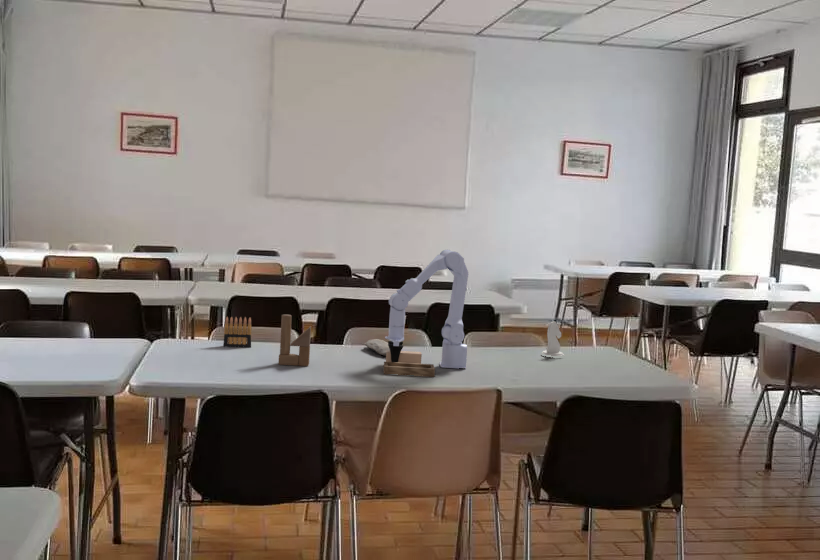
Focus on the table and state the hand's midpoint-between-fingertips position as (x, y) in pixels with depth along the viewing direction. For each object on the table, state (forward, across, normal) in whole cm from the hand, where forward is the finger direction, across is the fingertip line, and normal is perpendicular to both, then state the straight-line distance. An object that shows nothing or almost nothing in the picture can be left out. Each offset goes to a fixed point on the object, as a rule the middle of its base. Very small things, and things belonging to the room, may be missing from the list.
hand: (394, 361), depth 301 cm
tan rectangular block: (+2, 0, +3) cm, 4 cm away
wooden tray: (+2, +10, +5) cm, 12 cm away
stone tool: (+2, -25, -5) cm, 25 cm away
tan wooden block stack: (+2, +7, -36) cm, 37 cm away
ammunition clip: (+2, -20, -62) cm, 65 cm away
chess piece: (+2, -37, +68) cm, 77 cm away
